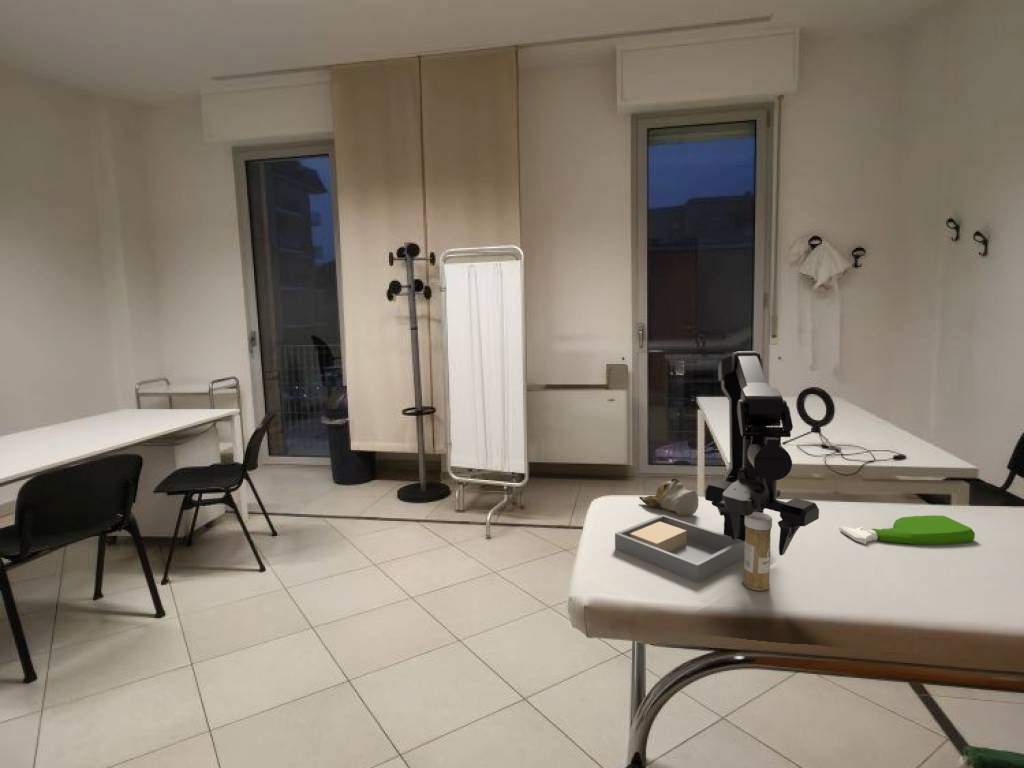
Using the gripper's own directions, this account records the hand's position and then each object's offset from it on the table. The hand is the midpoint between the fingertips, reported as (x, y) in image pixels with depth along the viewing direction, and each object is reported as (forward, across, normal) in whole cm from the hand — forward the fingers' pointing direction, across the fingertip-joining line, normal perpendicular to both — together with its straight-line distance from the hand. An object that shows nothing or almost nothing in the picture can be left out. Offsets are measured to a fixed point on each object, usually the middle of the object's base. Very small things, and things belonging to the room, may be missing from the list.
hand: (757, 546), depth 105 cm
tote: (+8, -17, 0) cm, 19 cm away
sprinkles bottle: (+8, 0, 0) cm, 8 cm away
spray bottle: (+8, +9, +44) cm, 46 cm away
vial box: (+7, -22, 0) cm, 23 cm away
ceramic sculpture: (+8, -34, +21) cm, 40 cm away
